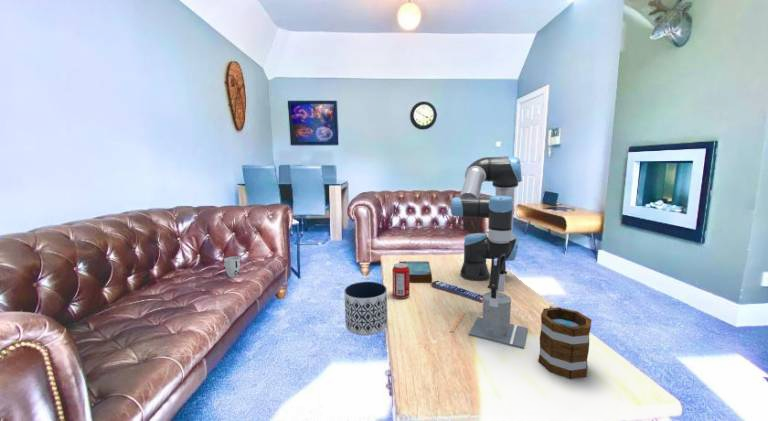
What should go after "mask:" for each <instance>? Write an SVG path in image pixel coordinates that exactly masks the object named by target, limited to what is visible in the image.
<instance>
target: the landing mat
mask: <svg viewBox="0 0 768 421" xmlns="http://www.w3.org/2000/svg"><path fill="white" fill-rule="evenodd" d="M482 318H483V317H480V316H477V317H476V319H475V321H474V323H473V324H472V326H471V327H470V330H469V332H468V336H469V337H470V336H471V337H475V338H479V339H483V340H485V341H486V340H487V341H490V342H494V343H499V344H502V345H506V346H510V347H515V348H517V349H522V350H524V349H525V345H526V340H527V335H528V330H529V329H528V327H525V326H520V325H517V324H511V323H510V333H509V335H507V336H504V337H495V336H491V335H489V334H487V333H485V332H484V331H483V330H482Z"/></svg>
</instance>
